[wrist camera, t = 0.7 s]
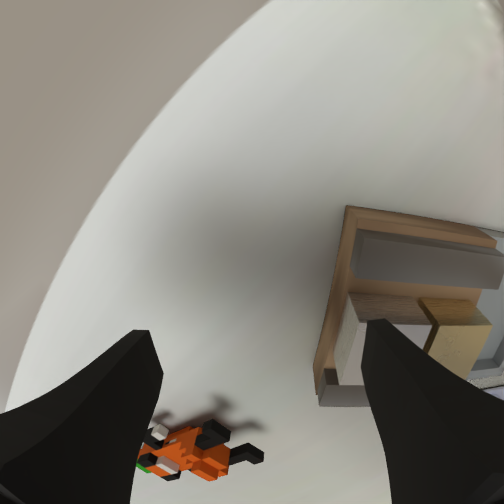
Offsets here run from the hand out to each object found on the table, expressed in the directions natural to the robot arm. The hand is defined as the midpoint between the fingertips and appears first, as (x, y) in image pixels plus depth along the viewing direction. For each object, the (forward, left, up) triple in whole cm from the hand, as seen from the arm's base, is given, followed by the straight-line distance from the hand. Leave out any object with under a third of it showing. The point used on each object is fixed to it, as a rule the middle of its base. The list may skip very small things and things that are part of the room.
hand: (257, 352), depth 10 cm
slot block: (-3, -9, -10) cm, 13 cm away
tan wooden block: (-3, -11, -7) cm, 13 cm away
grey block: (-3, -6, -7) cm, 10 cm away
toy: (-20, +6, -10) cm, 23 cm away
